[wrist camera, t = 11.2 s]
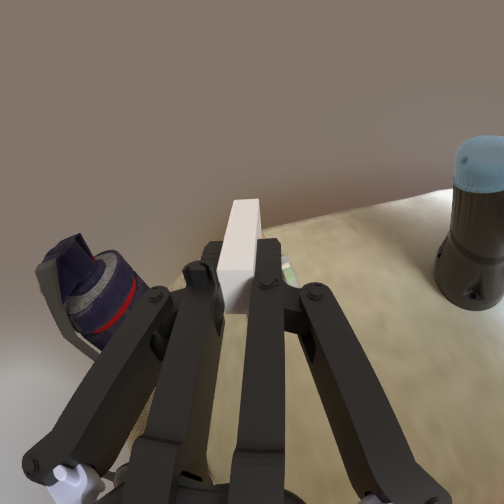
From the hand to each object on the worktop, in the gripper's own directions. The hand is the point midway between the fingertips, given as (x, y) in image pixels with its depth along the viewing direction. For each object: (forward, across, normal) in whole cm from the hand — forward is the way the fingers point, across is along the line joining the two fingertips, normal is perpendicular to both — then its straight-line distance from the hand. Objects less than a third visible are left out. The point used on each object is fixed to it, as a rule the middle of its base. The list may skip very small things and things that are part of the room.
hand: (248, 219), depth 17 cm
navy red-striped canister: (+7, -15, -34) cm, 38 cm away
